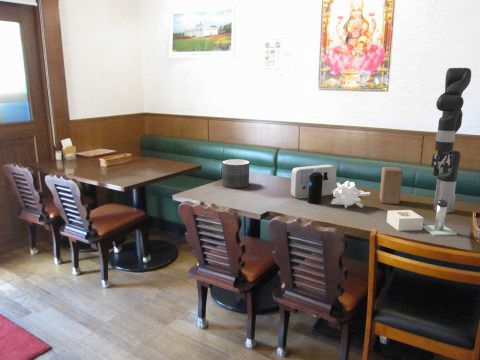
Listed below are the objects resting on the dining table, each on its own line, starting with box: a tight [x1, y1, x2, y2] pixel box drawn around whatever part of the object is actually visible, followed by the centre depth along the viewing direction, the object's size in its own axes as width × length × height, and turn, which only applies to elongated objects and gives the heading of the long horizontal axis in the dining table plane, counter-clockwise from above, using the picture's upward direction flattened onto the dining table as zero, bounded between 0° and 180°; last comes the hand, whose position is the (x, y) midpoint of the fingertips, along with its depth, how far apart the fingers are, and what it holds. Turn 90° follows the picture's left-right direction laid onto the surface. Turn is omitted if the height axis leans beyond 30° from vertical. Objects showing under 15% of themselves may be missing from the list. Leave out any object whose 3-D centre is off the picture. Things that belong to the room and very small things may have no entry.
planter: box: [221, 158, 250, 189], centre depth 267 cm, size 18×18×16 cm
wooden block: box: [378, 166, 404, 205], centre depth 233 cm, size 10×10×20 cm
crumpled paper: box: [330, 180, 371, 209], centre depth 224 cm, size 20×17×15 cm
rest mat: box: [422, 224, 458, 237], centre depth 190 cm, size 11×11×1 cm
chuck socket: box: [386, 209, 424, 232], centre depth 196 cm, size 12×12×6 cm
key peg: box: [433, 200, 448, 231], centre depth 188 cm, size 4×4×14 cm
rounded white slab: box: [290, 164, 337, 199], centre depth 244 cm, size 29×8×18 cm, turn 113°
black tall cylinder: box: [307, 168, 323, 205], centre depth 231 cm, size 8×8×20 cm
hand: (440, 174), depth 187 cm, fingers open, 8 cm apart
